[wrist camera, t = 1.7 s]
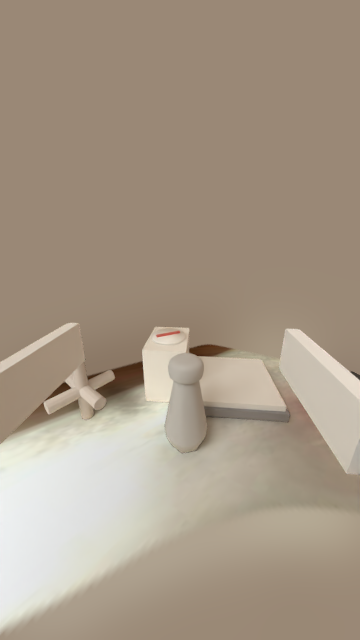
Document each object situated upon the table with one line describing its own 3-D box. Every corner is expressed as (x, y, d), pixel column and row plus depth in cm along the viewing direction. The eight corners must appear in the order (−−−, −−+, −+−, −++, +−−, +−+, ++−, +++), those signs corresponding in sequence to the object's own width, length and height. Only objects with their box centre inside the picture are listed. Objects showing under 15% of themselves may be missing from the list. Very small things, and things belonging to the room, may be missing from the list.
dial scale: (142, 411, 34) (137, 352, 30) (159, 362, 48) (157, 318, 44) (288, 422, 32) (302, 360, 28) (261, 367, 46) (268, 321, 42)
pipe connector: (99, 386, 40) (92, 339, 36) (132, 412, 34) (126, 358, 30) (41, 418, 33) (25, 363, 29) (69, 457, 27) (53, 393, 23)
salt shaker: (194, 418, 33) (196, 343, 28) (214, 448, 28) (220, 364, 23) (159, 431, 30) (155, 352, 26) (174, 467, 25) (172, 377, 21)
